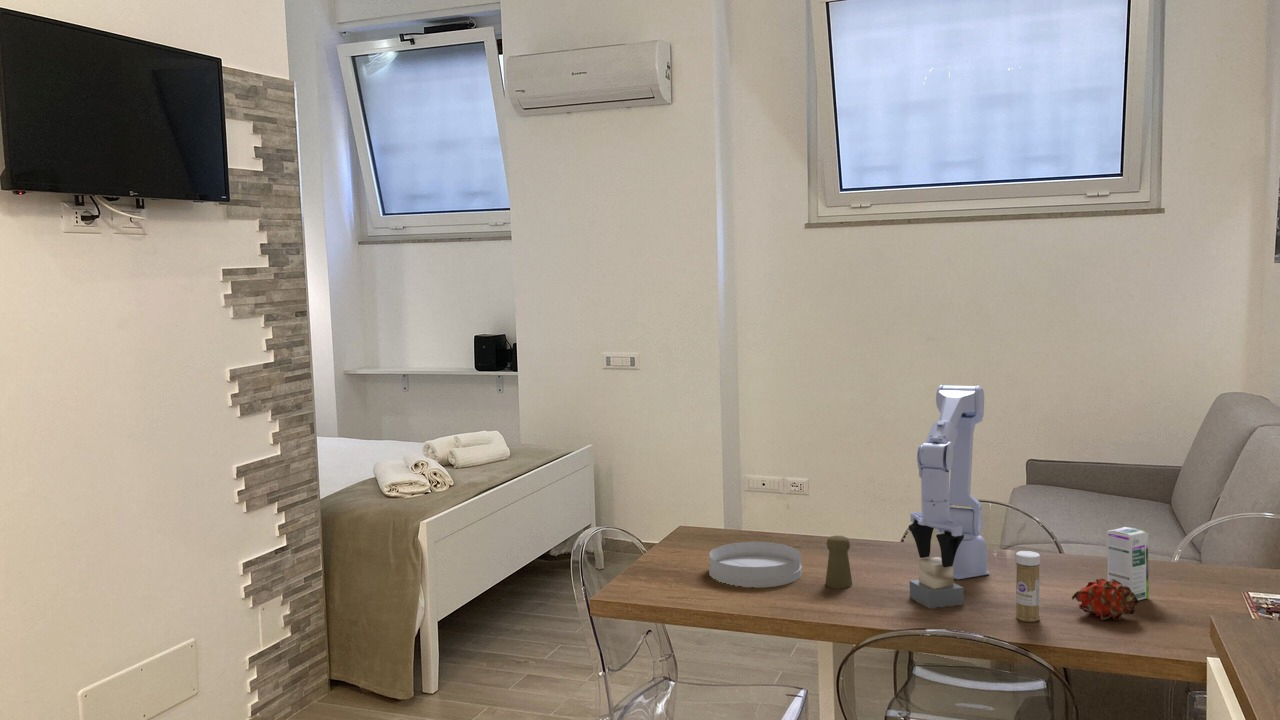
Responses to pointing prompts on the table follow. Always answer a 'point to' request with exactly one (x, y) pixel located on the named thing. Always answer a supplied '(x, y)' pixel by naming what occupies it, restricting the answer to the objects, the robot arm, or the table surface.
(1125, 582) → the syrup box
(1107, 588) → the dragon fruit
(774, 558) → the dish
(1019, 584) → the sprinkles bottle
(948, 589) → the grey block
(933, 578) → the beech cube
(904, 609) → the table surface
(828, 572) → the cork
